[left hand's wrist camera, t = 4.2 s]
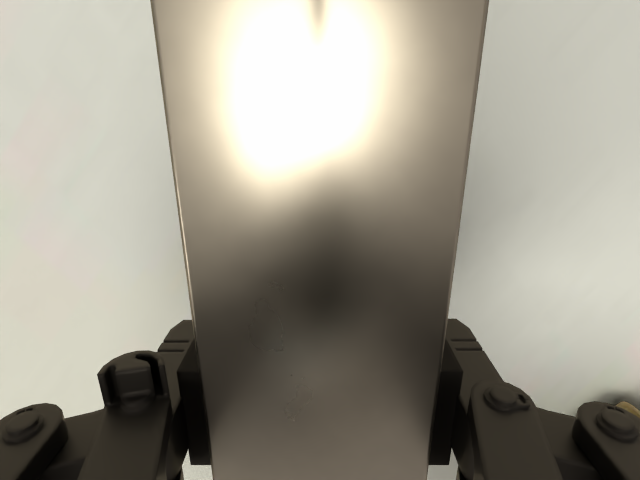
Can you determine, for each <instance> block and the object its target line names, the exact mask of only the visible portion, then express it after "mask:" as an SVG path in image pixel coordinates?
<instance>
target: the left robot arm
mask: <svg viewBox="0 0 640 480" xmlns="http://www.w3.org/2000/svg"><path fill="white" fill-rule="evenodd" d="M97 376H98V380H99V384H100V388H101V392H102V396H103V401H104V405H105V407H104V409H101V410H98V411H95V412H91V413H87V414H82V415H78V416H74V417H69V418H65V419H64V416H63V412H62V410H61V409H60V408H59V407H58V406H57V405H54V404H48V403H43V404H35V405H31V406H28V407H25V408H22V409H19V410H17V411H15V412H13V413H11V414H9V415H7V416H6V417H4V418H2V419H1V420H0V480H184V477H183V470H182V464H183V461H184V459H185V456H186V453H187V451H188V450H189V456H190V462H191V465H211V459H210V452H209V444H208V436H207V429H206V421H205V413H204V406H203V398H202V391H201V383H200V375H199V368H198V360H197V352H196V345H195V337H194V330H193V322H192V320H183V321H182V322H180V323H179V324H177V325H176V326H175V327H173V328H172V329H171V330H170V331H169V333H168V334H167V336H166V338H165V339H164V342H163V343H162V344H161V345H160V347H159V348H158V352H153V351H135V352H131V353H126V354H123V355H121V356H119V357H117V358H114V359H113V360H111V361H110V362H108V363H107V364H106V365H104V366H103V367H102V369H101V370H100V371H99V373H98V374H97ZM451 448H452V449H453V452H454V455H455V457H456V460H457V463H458V470H457V476H456V480H640V418H639V417H637V416H636V415H634V414H632V413H630V412H629V411H627V410H625V409H623V408H620V407H617V406H614V405H611V404H608V403H602V402H588V403H584V404H583V405H581V406H580V407H579V408H578V411H577V414H576V417H573V416H569V415H564V414H560V413H556V412H551V411H547V410H544V409H541V408H537V407H536V406H535V404H534V403H533V401H532V400H531V398H530V397H529V396H528V395H527V394H526V393H525V392H523V391H522V390H521V389H519V388H517V387H515V386H513V385H511V384H509V383H506V382H504V381H503V380H502V378H501V377H500V375H499V374H498V372H497V370H496V369H495V367H494V366H493V364H492V363H491V361H490V360H489V358H488V357H487V355H486V353H485V352H484V351H482V347H481V346H480V344H479V343H478V341H476V338H475V336H474V335H473V333H472V332H471V330H470V329H469V328H468V327H467V326H465V325H464V324H463V323H461V322H460V321H459V320H457V319H447V327H446V334H445V342H444V350H443V357H442V365H441V372H440V380H439V388H438V395H437V403H436V411H435V418H434V426H433V434H432V441H431V449H430V457H429V464H428V465H449V461H450V454H451Z"/></svg>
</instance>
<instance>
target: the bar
mask: <svg viewBox="0 0 640 480" xmlns="http://www.w3.org/2000/svg"><path fill="white" fill-rule="evenodd" d="M150 1H151V9H152V17H153V24H154V32H155V40H156V47H157V55H158V62H159V70H160V78H161V85H162V93H163V101H164V108H165V116H166V123H167V131H168V139H169V146H170V154H171V162H172V169H173V177H174V185H175V192H176V200H177V207H178V215H179V223H180V230H181V238H182V246H183V253H184V261H185V268H186V276H187V284H188V291H189V299H190V307H191V314H192V322H193V330H194V337H195V345H196V352H197V360H198V368H199V375H200V383H201V391H202V398H203V406H204V413H205V421H206V429H207V436H208V444H209V452H210V459H211V467H212V475H213V480H427V472H428V464H429V457H430V449H431V441H432V434H433V426H434V418H435V411H436V403H437V395H438V388H439V380H440V372H441V365H442V357H443V350H444V342H445V334H446V327H447V319H448V311H449V304H450V296H451V288H452V281H453V273H454V265H455V258H456V250H457V242H458V235H459V227H460V219H461V212H462V204H463V197H464V189H465V181H466V174H467V166H468V158H469V151H470V143H471V135H472V128H473V120H474V112H475V105H476V97H477V89H478V82H479V74H480V66H481V59H482V51H483V44H484V36H485V28H486V21H487V13H488V5H489V0H150Z"/></svg>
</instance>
